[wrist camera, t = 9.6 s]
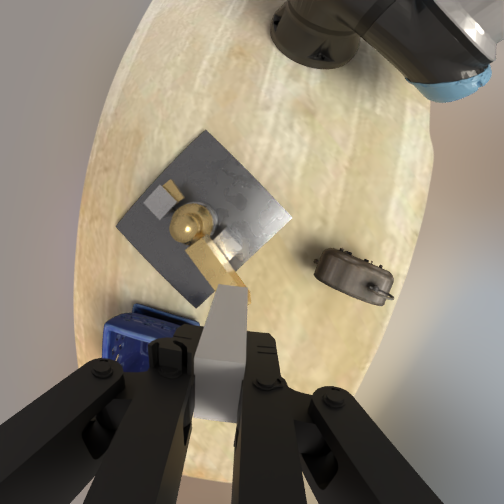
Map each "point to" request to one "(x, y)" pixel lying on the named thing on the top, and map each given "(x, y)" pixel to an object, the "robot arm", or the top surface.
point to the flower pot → (138, 335)
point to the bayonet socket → (216, 201)
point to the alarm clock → (354, 276)
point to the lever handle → (201, 241)
